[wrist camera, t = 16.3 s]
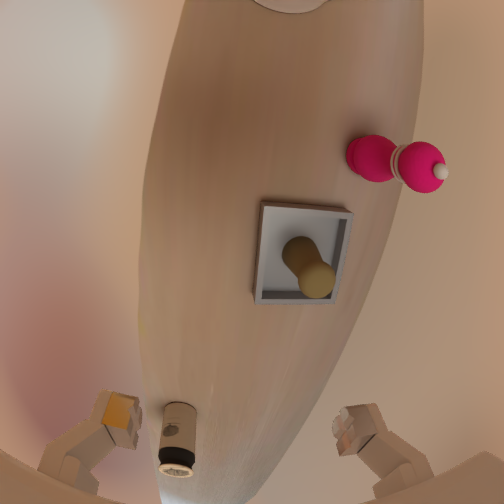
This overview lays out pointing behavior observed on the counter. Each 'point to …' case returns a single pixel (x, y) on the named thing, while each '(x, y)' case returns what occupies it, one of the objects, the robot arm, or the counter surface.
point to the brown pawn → (308, 267)
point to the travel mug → (178, 440)
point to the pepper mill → (397, 162)
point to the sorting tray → (290, 226)
